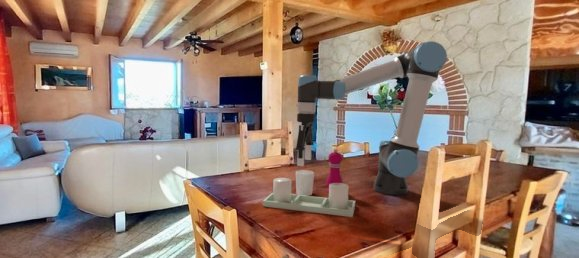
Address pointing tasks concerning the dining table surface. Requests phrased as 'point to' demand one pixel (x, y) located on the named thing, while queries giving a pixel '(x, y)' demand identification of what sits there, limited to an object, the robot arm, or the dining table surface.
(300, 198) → the caddy
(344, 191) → the white round cylinder
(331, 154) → the pepper mill
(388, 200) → the dining table surface
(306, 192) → the white cup
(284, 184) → the white capsule
